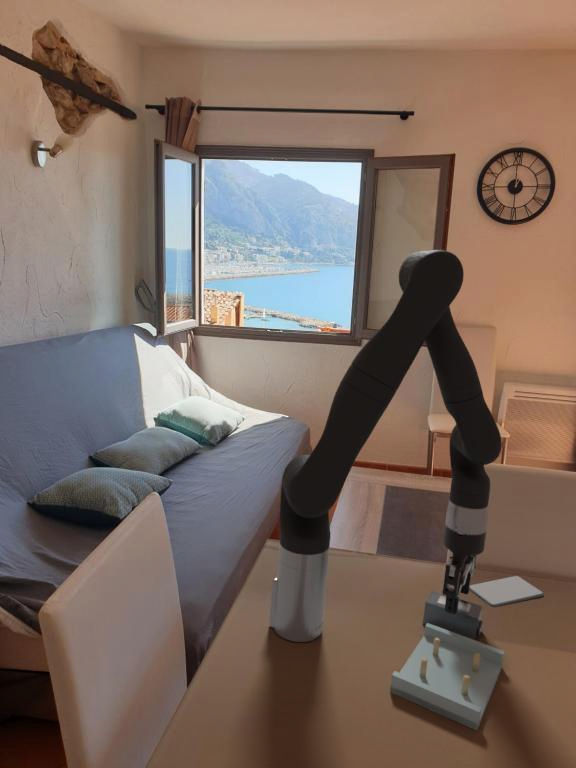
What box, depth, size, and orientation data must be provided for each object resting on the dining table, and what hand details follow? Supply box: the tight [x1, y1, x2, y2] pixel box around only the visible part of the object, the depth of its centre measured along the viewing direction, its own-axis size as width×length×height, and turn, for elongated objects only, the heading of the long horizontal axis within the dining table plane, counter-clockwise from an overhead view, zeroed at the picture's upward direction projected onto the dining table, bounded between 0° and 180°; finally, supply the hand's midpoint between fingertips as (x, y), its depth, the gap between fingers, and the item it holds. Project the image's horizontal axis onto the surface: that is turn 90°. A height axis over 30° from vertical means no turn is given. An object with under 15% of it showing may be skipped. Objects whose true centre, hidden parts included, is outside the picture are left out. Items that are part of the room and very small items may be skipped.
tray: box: [389, 623, 505, 731], centre depth 100 cm, size 14×18×4 cm
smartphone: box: [469, 575, 544, 607], centre depth 130 cm, size 8×1×15 cm
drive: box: [422, 590, 484, 641], centre depth 115 cm, size 10×5×5 cm, turn 62°
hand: (457, 602), depth 115 cm, fingers open, 8 cm apart
